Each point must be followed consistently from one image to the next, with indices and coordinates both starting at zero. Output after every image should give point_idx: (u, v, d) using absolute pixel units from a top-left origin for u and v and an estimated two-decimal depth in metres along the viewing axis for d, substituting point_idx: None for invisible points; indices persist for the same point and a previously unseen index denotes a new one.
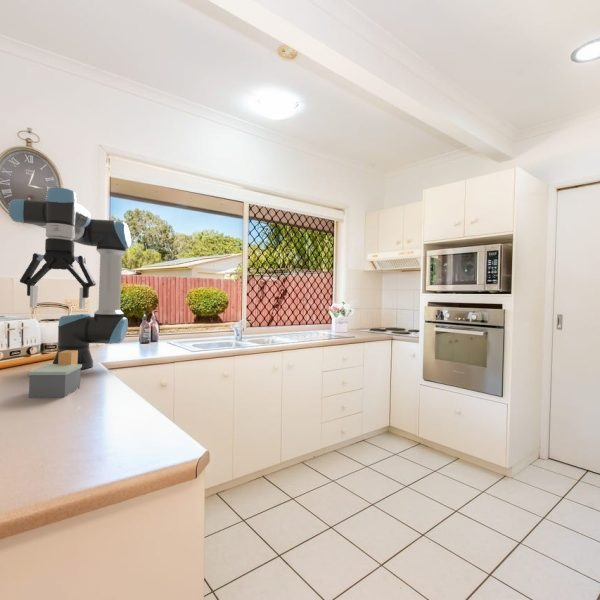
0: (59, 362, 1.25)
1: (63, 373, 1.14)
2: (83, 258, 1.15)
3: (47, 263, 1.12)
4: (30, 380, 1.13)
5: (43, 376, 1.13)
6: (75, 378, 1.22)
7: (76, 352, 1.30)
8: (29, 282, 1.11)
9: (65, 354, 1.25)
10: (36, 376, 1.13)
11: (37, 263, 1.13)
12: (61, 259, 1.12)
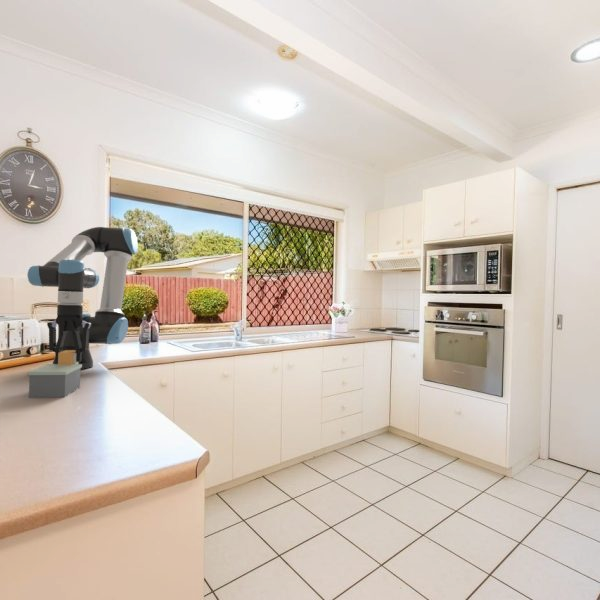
0: (59, 362, 1.25)
1: (63, 373, 1.14)
2: (89, 325, 1.29)
3: (61, 328, 1.26)
4: (30, 380, 1.13)
5: (43, 376, 1.13)
6: (75, 378, 1.22)
7: None
8: (57, 349, 1.26)
9: (65, 354, 1.25)
10: (36, 376, 1.13)
11: (54, 329, 1.27)
12: (71, 323, 1.27)
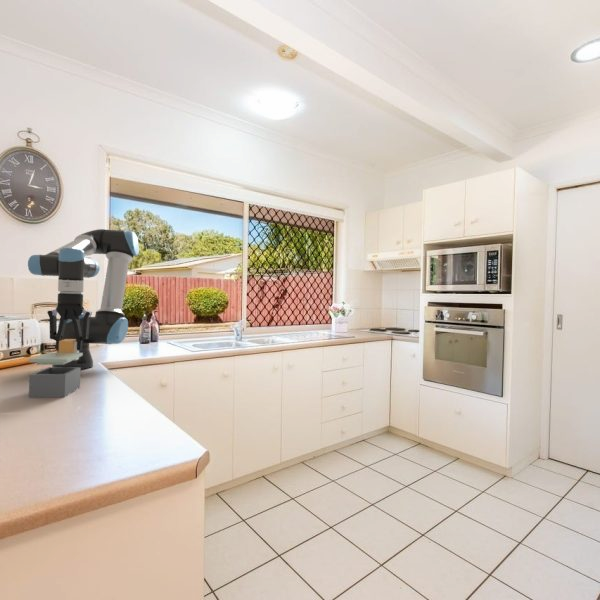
0: (60, 350, 1.25)
1: (64, 361, 1.14)
2: (90, 314, 1.29)
3: (62, 316, 1.26)
4: (30, 380, 1.13)
5: (43, 376, 1.13)
6: (75, 378, 1.22)
7: None
8: (57, 338, 1.27)
9: (66, 342, 1.26)
10: (36, 376, 1.13)
11: (55, 318, 1.27)
12: (72, 311, 1.27)
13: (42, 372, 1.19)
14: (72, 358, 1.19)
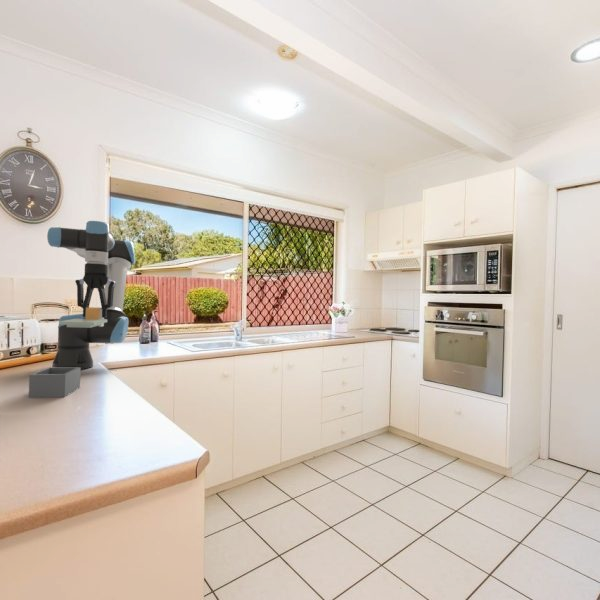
0: (86, 317, 1.34)
1: (91, 323, 1.23)
2: (114, 284, 1.38)
3: (88, 285, 1.35)
4: (30, 380, 1.13)
5: (43, 376, 1.13)
6: (75, 378, 1.22)
7: None
8: (84, 305, 1.35)
9: (92, 309, 1.34)
10: (36, 376, 1.13)
11: (82, 287, 1.36)
12: (97, 280, 1.35)
13: (42, 372, 1.19)
14: (98, 322, 1.27)
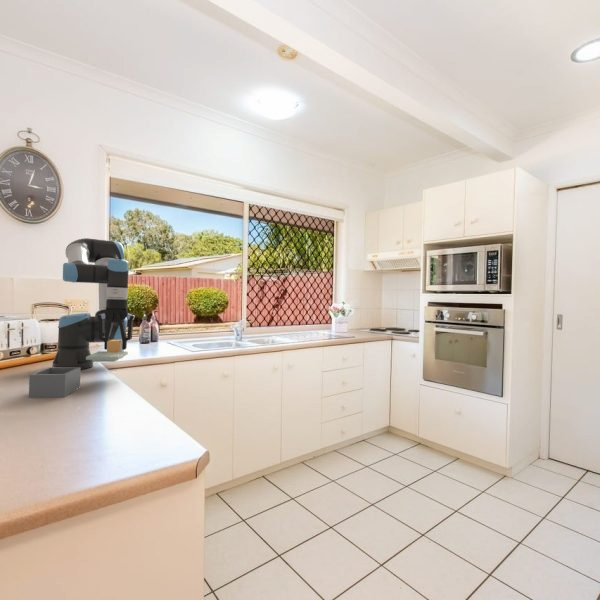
0: (108, 349, 1.42)
1: (116, 358, 1.31)
2: (133, 317, 1.46)
3: (110, 319, 1.43)
4: (30, 380, 1.13)
5: (43, 376, 1.13)
6: (75, 378, 1.22)
7: None
8: (106, 339, 1.43)
9: (113, 342, 1.42)
10: (36, 376, 1.13)
11: (103, 321, 1.44)
12: (118, 315, 1.43)
13: (42, 372, 1.19)
14: (121, 356, 1.35)
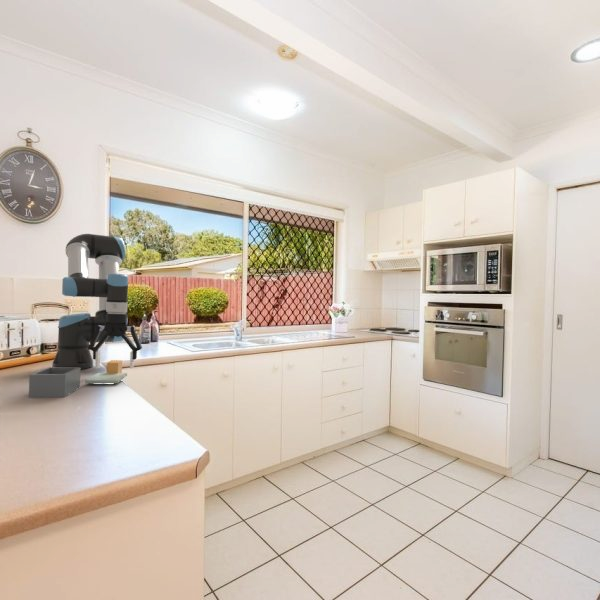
0: (107, 371, 1.42)
1: (115, 381, 1.31)
2: (134, 328, 1.46)
3: (107, 333, 1.43)
4: (30, 380, 1.13)
5: (43, 376, 1.13)
6: (75, 378, 1.22)
7: (121, 362, 1.47)
8: (95, 349, 1.43)
9: (113, 364, 1.42)
10: (36, 376, 1.13)
11: (99, 333, 1.44)
12: (118, 329, 1.43)
13: (42, 372, 1.19)
14: (121, 379, 1.35)
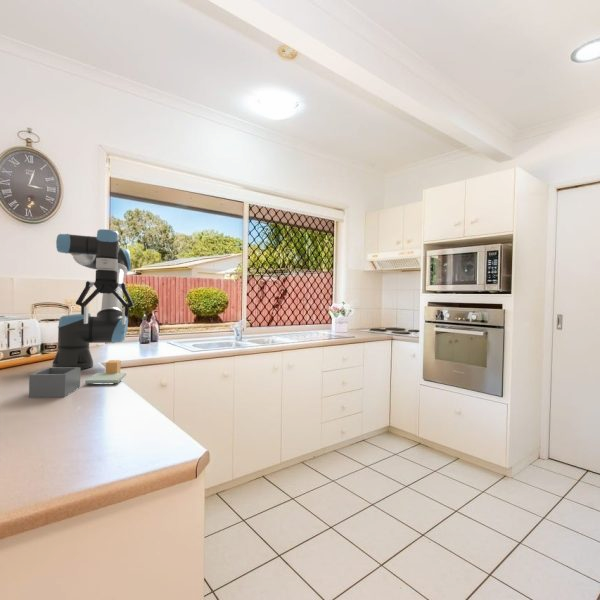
0: (106, 371, 1.42)
1: (115, 381, 1.31)
2: (125, 284, 1.45)
3: (97, 289, 1.42)
4: (30, 380, 1.13)
5: (43, 376, 1.13)
6: (75, 378, 1.22)
7: (119, 362, 1.47)
8: (83, 304, 1.41)
9: (112, 364, 1.42)
10: (36, 376, 1.13)
11: (88, 289, 1.42)
12: (108, 286, 1.42)
13: (42, 372, 1.19)
14: (120, 378, 1.36)
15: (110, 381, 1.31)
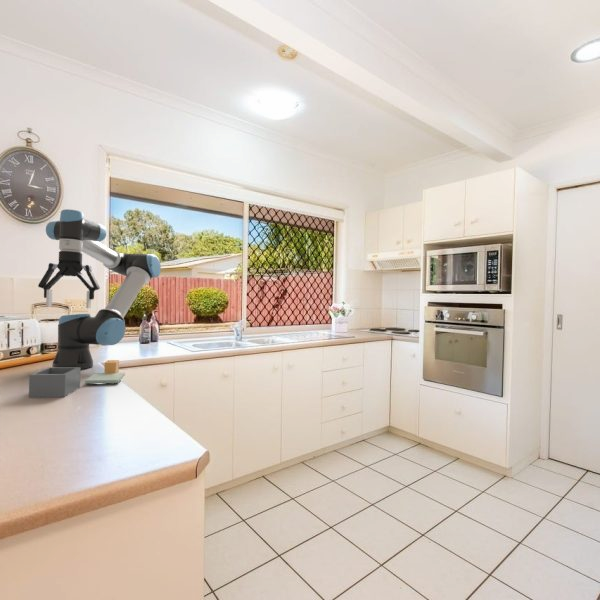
0: (105, 371, 1.42)
1: (115, 381, 1.32)
2: (89, 267, 1.40)
3: (60, 271, 1.37)
4: (30, 380, 1.13)
5: (43, 376, 1.13)
6: (75, 378, 1.22)
7: (118, 362, 1.47)
8: (45, 286, 1.36)
9: (110, 364, 1.42)
10: (36, 376, 1.13)
11: (52, 271, 1.38)
12: (71, 268, 1.37)
13: (42, 372, 1.19)
14: (120, 378, 1.36)
15: (110, 381, 1.31)
